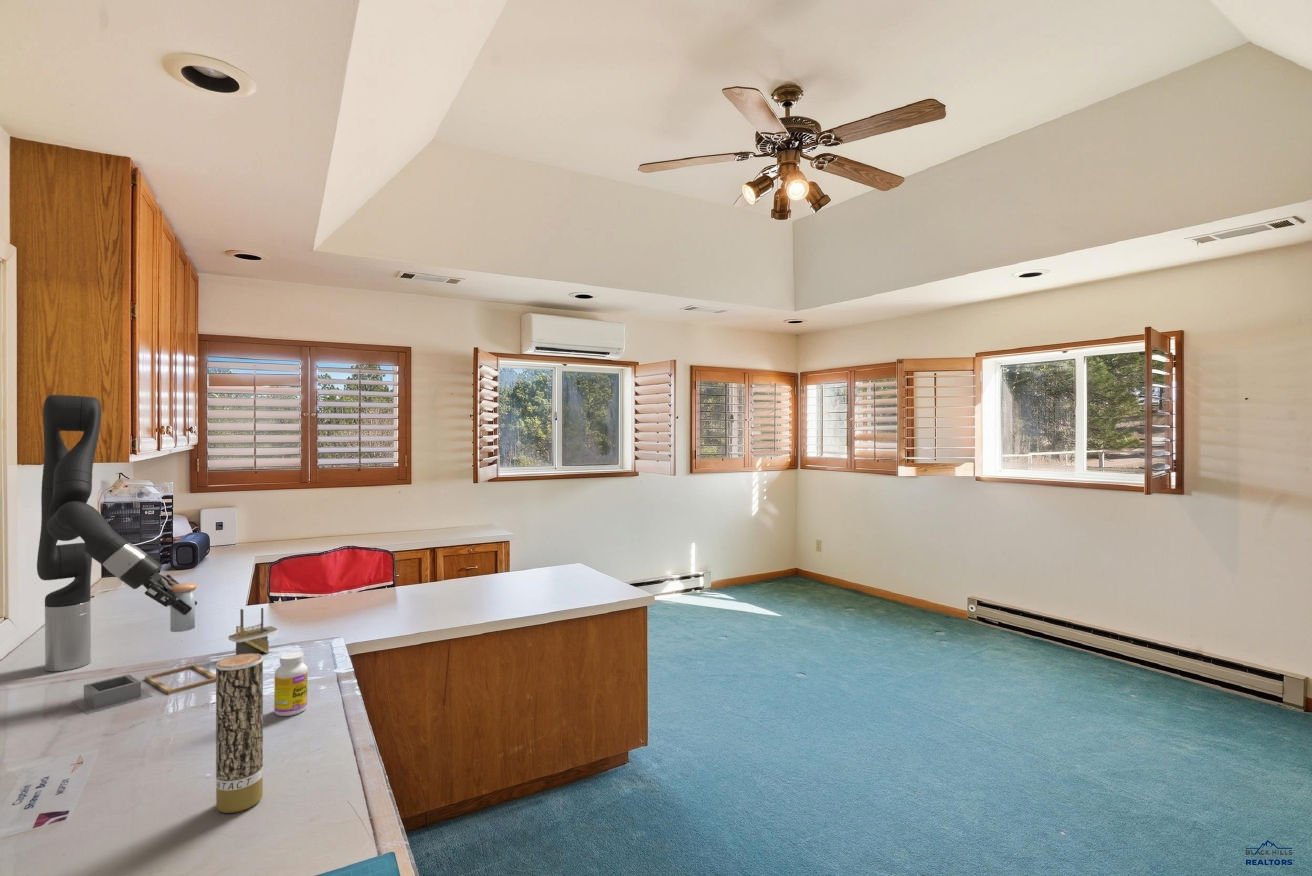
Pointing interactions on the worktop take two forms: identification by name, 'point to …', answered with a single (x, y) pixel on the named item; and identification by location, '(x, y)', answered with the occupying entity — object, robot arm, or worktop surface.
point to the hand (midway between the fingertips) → (191, 608)
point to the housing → (110, 694)
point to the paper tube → (239, 732)
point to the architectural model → (252, 637)
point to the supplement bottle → (290, 685)
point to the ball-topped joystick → (178, 619)
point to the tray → (169, 691)
